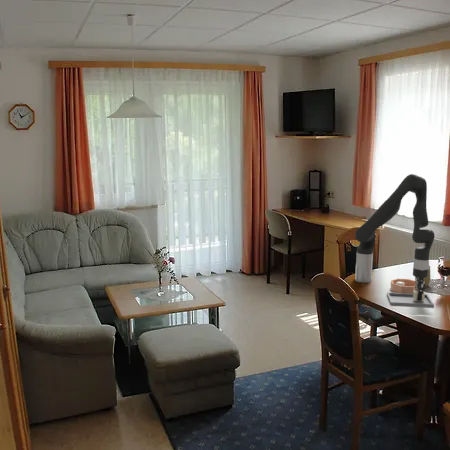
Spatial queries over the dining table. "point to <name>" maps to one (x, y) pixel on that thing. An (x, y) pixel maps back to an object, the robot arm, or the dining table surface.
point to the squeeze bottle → (427, 278)
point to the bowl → (407, 287)
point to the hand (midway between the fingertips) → (418, 298)
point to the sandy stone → (416, 295)
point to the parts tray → (408, 300)
